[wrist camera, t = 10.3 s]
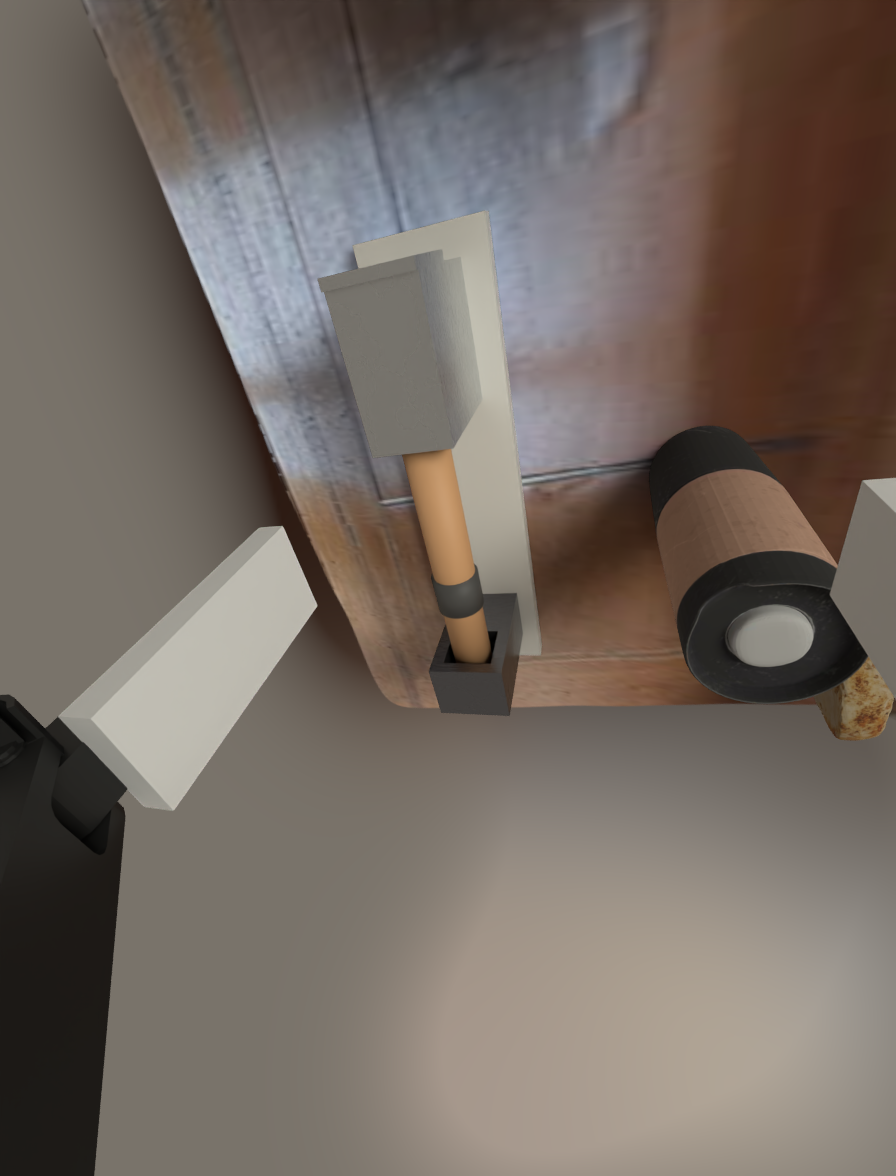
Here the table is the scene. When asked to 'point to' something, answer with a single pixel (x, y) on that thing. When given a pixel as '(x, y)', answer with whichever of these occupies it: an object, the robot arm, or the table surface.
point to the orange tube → (449, 553)
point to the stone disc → (857, 705)
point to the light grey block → (407, 351)
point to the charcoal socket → (482, 683)
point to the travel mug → (746, 574)
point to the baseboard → (482, 417)
